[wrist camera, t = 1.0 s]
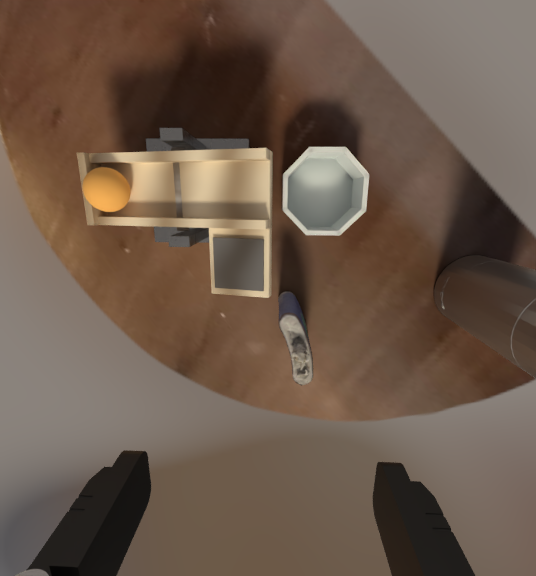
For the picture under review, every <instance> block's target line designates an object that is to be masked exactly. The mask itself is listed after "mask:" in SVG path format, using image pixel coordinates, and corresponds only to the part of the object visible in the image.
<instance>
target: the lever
mask: <svg viewBox="0 0 536 576" xmlns="http://www.w3.org/2000/svg"><path fill="white" fill-rule="evenodd" d="M77 159H78V165H79V172H80V179H81V185H83V180H84V178H85V176H86V175H87V173H89V172H90V171H91V170H93V169H95V168H99V167H107V168H111V169H114V170H116V171H118V172H119V173H121V174H122V175H123V176H124V177H125V178H126V180H127V182H128V184H129V186H130V192H131V194H130V199H129V201H128V203H127V204H126V206H125V207H123V208H122V209H120V210H118V211H115V212H105V211H101V210H99V209H97V208H95V207H93V206H92V205H91V204H90V203H89V202H88V201H87V199H86V198H85V196H84V193H83V199H84V205H85V212H86V218H87V225H122V226H157V227H177V231H189V227H192V228H209V243H210V266H211V288H212V293H214V294H227V295H240V296H252V297H265V298H269V297H270V296H271V264H272V162H273V152H272V151H270V150H269V149H267V148H246V149H215V150H184V148H180V147H172V148H171V151H153V152H122V153H91V154H89V153H77ZM82 192H83V188H82Z"/></svg>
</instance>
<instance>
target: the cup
mask: <svg viewBox="0 0 536 576" xmlns="http://www.w3.org/2000/svg"><path fill="white" fill-rule="evenodd" d="M368 183H369V173H368V172H367V171H366V170H365V169H364V168H363V166H362V165H361V164H360V163H359V162H358V160H357V159H356V158H355V157H354V156H353V155H352V153H351V152H350V151H349V150H348V149H347V148H346V147H309V148H308V149H307V150H306V151H305V152H304V153H303V154H302V155H301V156H300V157H299V158H298V159H297V160H296V161H295V162H294V163H293V164H292V165H291V167H290V168H289V169H288V170H287V171H286V172H285V173H284V174H283V177H282V210H283V211H284V212H285V213H286V214H287V215H288V216H289V218H290V219H291V220H292V221H293V222H294V223H295V224H296V225H297V226H298V227H299V228H300V229H301V230H302V231H303V232H304V234H305V235H339V236H340V235H341V234H342V233H343V232H344V231H345V230H346V229H347V228H348V227H349V226H350V225H351V224H353V223H354V222H355V221H356V220H357V219H358V218H359V217H360V216H361V215H362V214H363V213H364V212H365V211H366V205H367V194H368Z"/></svg>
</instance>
